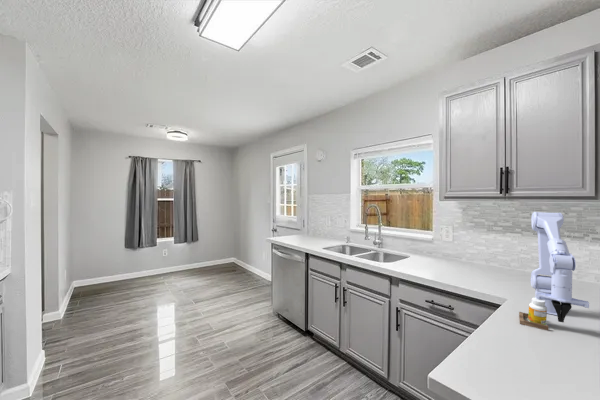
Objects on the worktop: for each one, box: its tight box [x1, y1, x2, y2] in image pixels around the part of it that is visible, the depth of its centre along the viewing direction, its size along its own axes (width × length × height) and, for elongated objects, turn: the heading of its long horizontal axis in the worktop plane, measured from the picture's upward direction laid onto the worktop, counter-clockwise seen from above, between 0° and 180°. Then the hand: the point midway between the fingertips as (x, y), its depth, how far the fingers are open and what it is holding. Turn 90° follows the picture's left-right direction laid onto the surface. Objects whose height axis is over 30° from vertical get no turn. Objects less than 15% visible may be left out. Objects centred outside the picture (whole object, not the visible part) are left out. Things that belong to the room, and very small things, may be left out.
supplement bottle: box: [527, 296, 548, 325], centre depth 107 cm, size 5×5×10 cm
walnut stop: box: [518, 311, 549, 331], centre depth 108 cm, size 10×8×2 cm
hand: (560, 321), depth 103 cm, fingers closed
